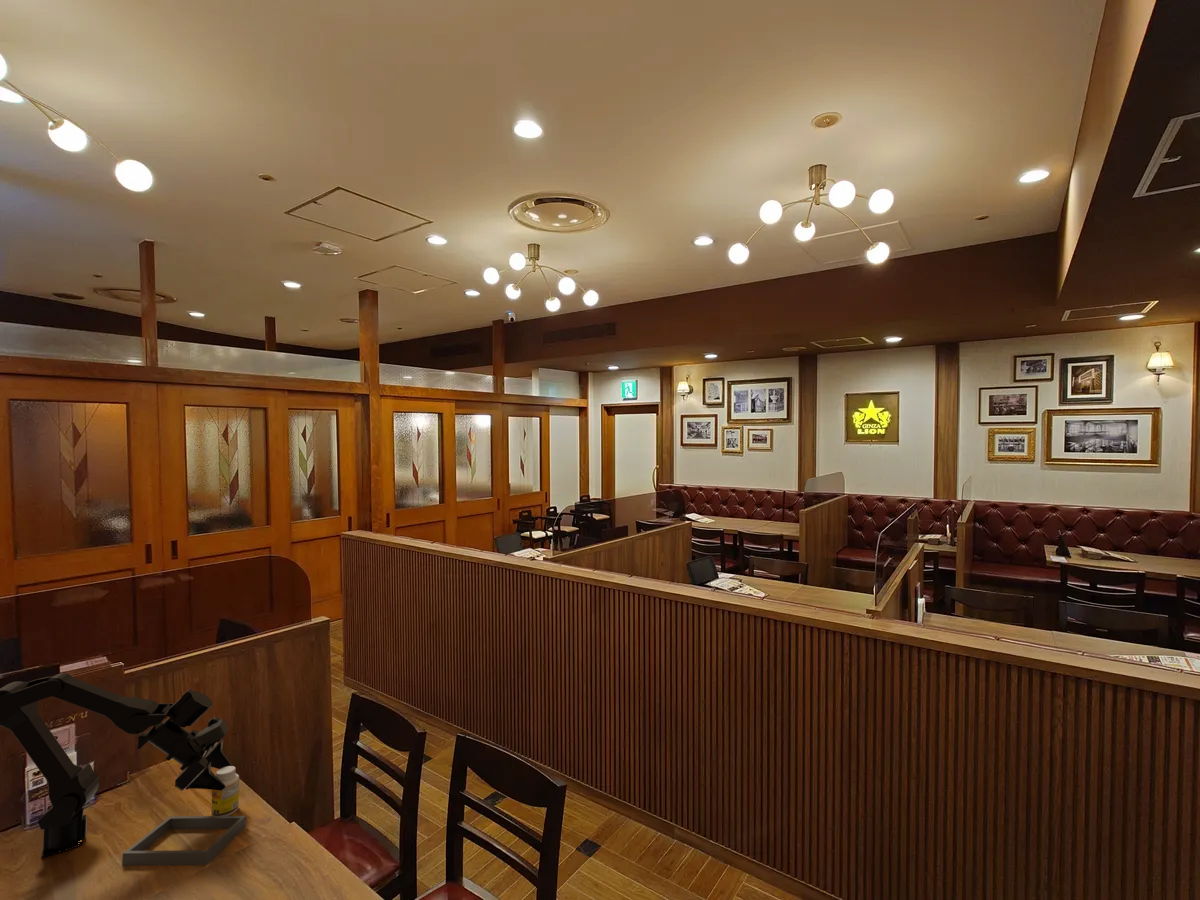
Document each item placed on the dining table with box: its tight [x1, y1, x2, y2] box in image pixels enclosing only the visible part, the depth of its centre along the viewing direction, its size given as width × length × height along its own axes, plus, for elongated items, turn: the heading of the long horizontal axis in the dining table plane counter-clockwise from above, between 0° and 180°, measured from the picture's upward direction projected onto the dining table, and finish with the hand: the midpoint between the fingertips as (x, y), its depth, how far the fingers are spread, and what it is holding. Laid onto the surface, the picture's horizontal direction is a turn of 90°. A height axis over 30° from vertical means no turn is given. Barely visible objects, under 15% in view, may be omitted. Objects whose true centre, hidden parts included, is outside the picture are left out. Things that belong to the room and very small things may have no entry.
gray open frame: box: [121, 815, 247, 867], centre depth 124 cm, size 18×13×2 cm
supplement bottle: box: [211, 765, 240, 816], centre depth 137 cm, size 6×6×10 cm
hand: (228, 778), depth 137 cm, fingers open, 9 cm apart
